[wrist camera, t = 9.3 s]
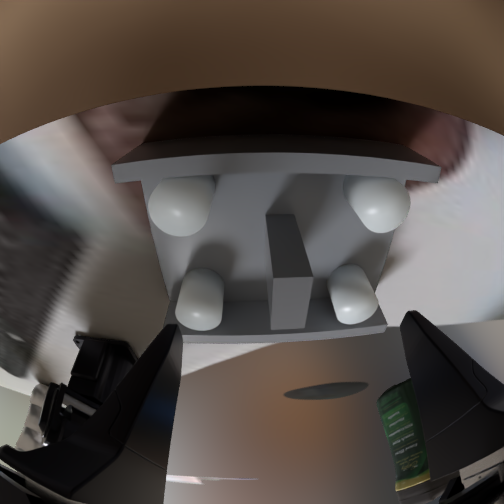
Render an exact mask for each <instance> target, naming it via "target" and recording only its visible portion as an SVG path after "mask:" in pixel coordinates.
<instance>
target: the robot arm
mask: <svg viewBox="0 0 504 504" xmlns="http://www.w3.org/2000/svg"><path fill="white" fill-rule="evenodd" d="M400 331H401V336H402V341H403V346H404V350H405V356H406V361H407V365H408V369H409V372H410V376H411V380H412V383H413V387H414V391H415V395H416V400H417V404H418V408H419V413H420V418H421V423H422V428H423V433H424V439H425V445H426V451H427V458H428V465H429V473H430V480H431V481H433V480H436V479H439V478H441V477H444V476H446V475H449V474H451V473H454V472H456V471H458V470H459V472H460V475H458V476H456V477H454V478H452V479H451V480H450V481H449V483H448V485H447V487H446V489H445V491H444V492H443V494H442V496H441V498H440V500H439V504H504V384H502V383H501V382H500V381H499V380H497V379H496V378H495V377H494V376H492V375H491V374H490V373H489V372H487V371H486V370H485V369H484V368H482V367H481V366H480V365H479V364H478V363H477V362H476V361H475V360H474V359H472V358H471V357H470V356H469V355H468V354H467V353H466V352H465V351H464V350H462V349H461V348H460V347H459V346H458V345H457V344H456V343H454V342H453V341H452V340H451V339H450V338H449V337H448V336H446V335H445V334H444V333H443V332H442V331H440V330H439V329H438V328H437V327H436V326H435V325H433V324H432V323H431V322H430V321H429V320H427V319H426V318H425V317H424V316H423V315H421V314H420V313H419V312H418V311H416V310H413V311H408V312H407V313H406V314H405V316H404V318H403V320H402V322H401V325H400ZM73 341H74V342H75V344H76V345H77V347H78V348H79V349H80V350H79V353H78V355H77V358H76V360H75V363H74V365H73V368H72V370H71V378H70V381H69V384H68V386H66V385H65V384H63V383H61V384H60V385H58V384H55V383H52V382H51V383H50V384H49V387H48V390H47V393H46V395H45V398H44V402H43V406H42V410H41V414H40V419H39V424H38V425H39V428H40V430H41V432H42V433H41V437H42V442H41V443H42V445H44V446H43V447H40V448H37V449H33V450H29V451H18V450H16V449H15V448H13V447H11V446H9V445H7V444H6V445H4V446H1V447H0V459H1V460H2V461H3V462H5V463H6V464H8V465H9V466H10V467H12V468H13V469H15V470H16V471H18V472H20V473H21V474H20V473H18V472H16V471H13V470H12V469H9V468H7V467H5V466H4V465H1V464H0V504H163V501H164V491H165V482H166V474H167V465H168V457H169V450H170V442H171V436H172V429H173V423H174V416H175V410H176V403H177V397H178V391H179V386H180V380H181V367H182V350H183V337H182V334H181V331H180V328H179V325H178V324H173V323H168V324H166V325H165V327H164V328H163V329H162V330H161V332H160V333H159V334H158V335H157V337H156V338H155V339H154V340H153V341H152V343H151V344H150V345H149V346H148V348H147V349H146V350H145V351H144V353H143V354H142V355H141V356H140V358H139V359H137V357H136V356H135V354H134V352H133V350H132V349H131V347H130V345H129V344H128V343H127V342H124V341H115V340H106V339H98V338H90V337H83V336H74V339H73ZM62 404H64V405H66V406H67V407H66V408H64V407H62ZM22 474H23V475H22Z"/></svg>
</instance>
